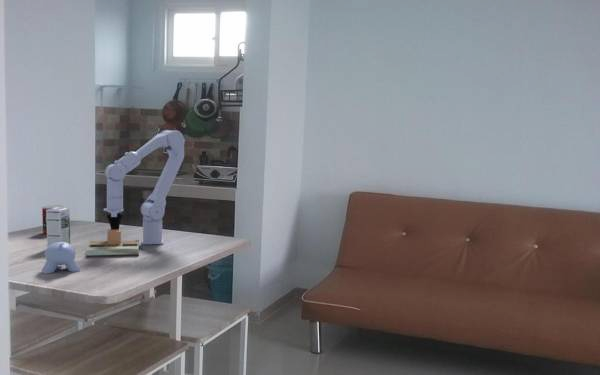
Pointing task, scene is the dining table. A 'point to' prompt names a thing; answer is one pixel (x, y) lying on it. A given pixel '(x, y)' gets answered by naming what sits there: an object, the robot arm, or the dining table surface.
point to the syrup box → (58, 225)
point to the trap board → (113, 248)
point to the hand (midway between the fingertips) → (114, 233)
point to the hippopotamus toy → (60, 257)
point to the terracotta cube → (114, 236)
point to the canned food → (45, 215)
